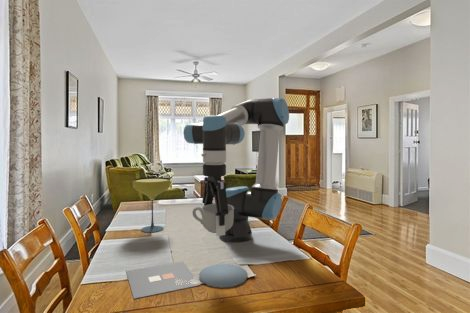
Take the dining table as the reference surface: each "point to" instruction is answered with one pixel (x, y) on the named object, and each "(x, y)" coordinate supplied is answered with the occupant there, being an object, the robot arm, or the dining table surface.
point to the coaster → (223, 275)
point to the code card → (159, 279)
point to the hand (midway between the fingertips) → (214, 230)
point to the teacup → (213, 217)
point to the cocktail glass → (151, 194)
